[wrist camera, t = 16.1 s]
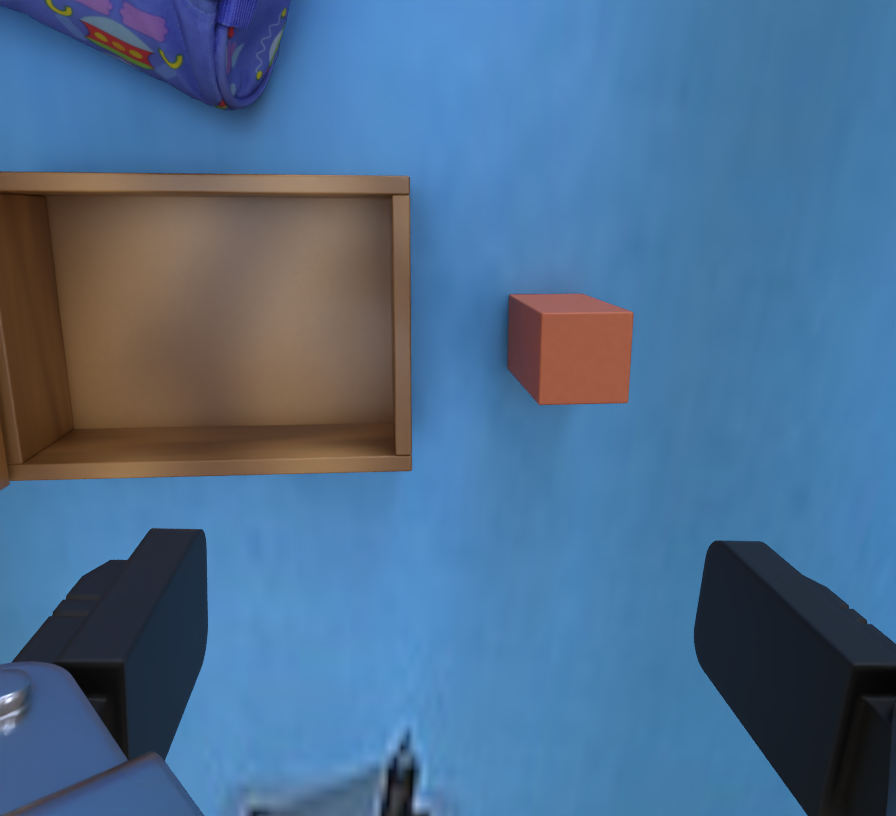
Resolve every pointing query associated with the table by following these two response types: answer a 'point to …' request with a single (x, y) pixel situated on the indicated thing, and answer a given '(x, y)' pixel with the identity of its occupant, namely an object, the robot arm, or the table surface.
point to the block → (570, 348)
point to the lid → (3, 464)
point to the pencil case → (178, 40)
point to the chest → (204, 324)
